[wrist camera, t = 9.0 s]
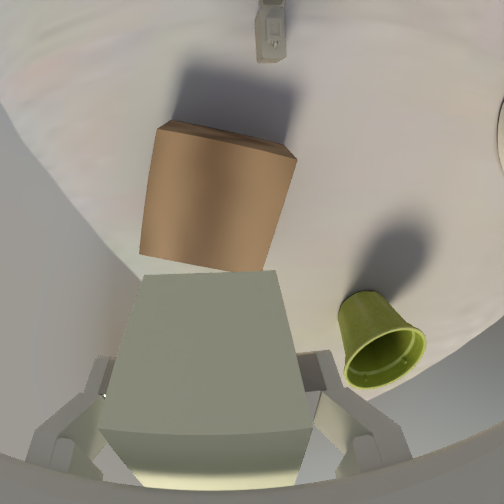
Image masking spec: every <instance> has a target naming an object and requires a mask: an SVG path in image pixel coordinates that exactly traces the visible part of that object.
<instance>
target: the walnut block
mask: <svg viewBox="0 0 504 504" xmlns="http://www.w3.org/2000/svg"><path fill="white" fill-rule="evenodd" d="M296 163H297V159H296V158H295V157H294V155H293V154H292V153H291V152H290V151H289V150H288V149H287V148H286V147H285V146H284V145H282V144H278V143H274V142H270V141H266V140H262V139H258V138H254V137H250V136H246V135H241V134H237V133H233V132H228V131H224V130H219V129H214V128H209V127H205V126H199V125H194V124H189V123H184V122H178V121H173V120H171V121H169V122H167V123H166V124H164V125H163V126H161V127H159V128H158V129H157V132H156V137H155V142H154V148H153V154H152V160H151V166H150V172H149V178H148V185H147V192H146V199H145V206H144V214H143V223H142V231H141V241H140V251H139V254H141V255H146V256H151V257H156V258H161V259H166V260H171V261H177V262H182V263H187V264H192V265H197V266H203V267H208V268H213V269H219V270H224V271H230V272H247V271H262V270H263V267H264V263H265V260H266V257H267V254H268V251H269V248H270V245H271V242H272V239H273V236H274V233H275V229H276V226H277V223H278V220H279V217H280V214H281V211H282V207H283V204H284V201H285V198H286V195H287V192H288V188H289V185H290V182H291V179H292V176H293V173H294V169H295V166H296Z"/></svg>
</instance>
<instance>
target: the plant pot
mask: <svg viewBox="0 0 504 504" xmlns="http://www.w3.org/2000/svg"><path fill="white" fill-rule="evenodd" d="M338 321H339V326H340V330H341V335H342V340H343V345H344V350H345V355H346V357H345V367H344V377H345V380H346V382H347V383H348V384H349V385H350V386H352V387H355V388H358V389H374V388H379V387H382V386H385V385H387V384H390V383H392V382H394V381H396V380H398V379H399V378H401V377H403V376H404V375H405V374H407V373H408V372H409V371H410V370H412V369H413V367H414V366H415V365H416V364H417V363H418V362H419V361H420V359H421V358H422V356H423V354H424V352H425V349H426V343H427V341H426V337H425V335H424V333H423V332H422V331H421V330H419V329H418V328H416V327H413V326H412V325H411V324H409V323H407V322H406V321H405V320H404V319H403V318H402V317H401V316H400V315H399V314H398V313H397V312H396V311H395V310H394V308H393V307H392V306H391V305H390V304H389V303H388V302H387V301H386V300H385V299H384V298H383V296H382V295H381V294H379V293H378V292H376V291H360V292H358V293H355V294H354V295H352V296H350V297H349V298H348V299H347V300H345V301H344V303H343V304H342V305H341V308H340V311H339V314H338Z"/></svg>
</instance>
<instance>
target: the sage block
mask: <svg viewBox="0 0 504 504" xmlns="http://www.w3.org/2000/svg"><path fill="white" fill-rule="evenodd" d="M97 428H98V430H99V431H100V432H101V434H102V435H103V437H104V438H105V439H106V441H107V442H108V443H109V445H110V446H111V447H112V448H113V450H114V451H115V452H116V454H117V455H118V456H119V457H120V459H121V460H122V461H123V462H124V464H126V466H127V467H128V468H129V469H130V471H131V472H132V473H133V474H134V475H135V477H136V478H137V479H138V480H139V481H140V482H141V483H142V484H143V486H144V487H151V488H162V489H177V490H248V489H263V488H275V487H284V486H293V485H294V484H295V481H296V478H297V475H298V472H299V470H300V467H301V464H302V461H303V458H304V455H305V451H306V448H307V445H308V442H309V439H310V436H311V433H312V430H313V425H312V420H311V416H310V412H309V407H308V403H307V399H306V394H305V390H304V386H303V381H302V377H301V373H300V369H299V364H298V360H297V356H296V352H295V348H294V344H293V339H292V335H291V331H290V327H289V323H288V319H287V315H286V311H285V307H284V303H283V298H282V294H281V290H280V286H279V282H278V278H277V274H276V270H270V271H247V272H222V273H195V274H164V275H144V277H143V280H142V282H141V285H140V288H139V291H138V294H137V296H136V300H135V302H134V305H133V308H132V311H131V314H130V317H129V320H128V323H127V326H126V329H125V332H124V335H123V338H122V341H121V344H120V348H119V351H118V354H117V357H116V361H115V364H114V367H113V371H112V374H111V378H110V381H109V385H108V388H107V392H106V396H105V400H104V403H103V407H102V411H101V415H100V419H99V423H98V427H97Z"/></svg>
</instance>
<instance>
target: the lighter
mask: <svg viewBox="0 0 504 504" xmlns="http://www.w3.org/2000/svg"><path fill="white" fill-rule="evenodd" d="M259 5H260V6H261V8H260V9H259V12H258V14H257V16H256V19H255V36H256V55H257V62H258V63H276V62H278V61H280V60H282V59H284V58H285V57H286V56H287V55H286V35H285V17H284V9H283V8H282V7H283V6H284V5H285V0H259Z"/></svg>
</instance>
